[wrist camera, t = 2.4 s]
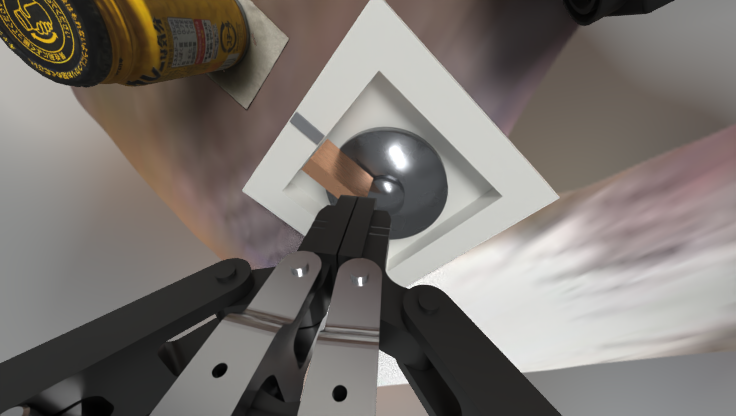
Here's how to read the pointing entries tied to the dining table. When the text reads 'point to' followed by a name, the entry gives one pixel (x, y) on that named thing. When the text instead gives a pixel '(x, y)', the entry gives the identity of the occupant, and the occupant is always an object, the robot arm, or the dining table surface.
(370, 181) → the dial
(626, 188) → the dining table surface
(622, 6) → the digital camera
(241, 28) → the condiment
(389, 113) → the panel
